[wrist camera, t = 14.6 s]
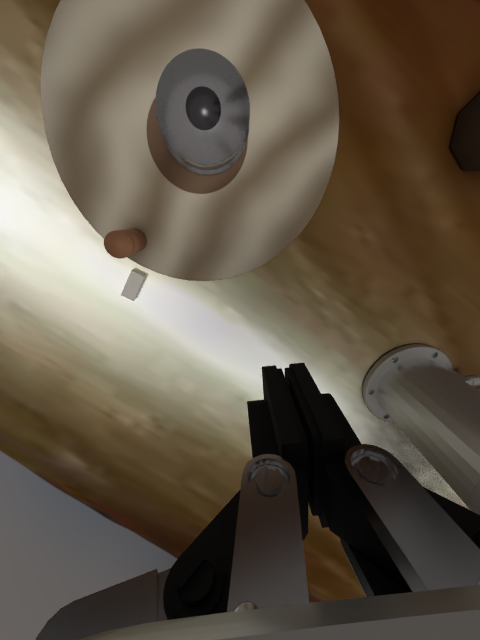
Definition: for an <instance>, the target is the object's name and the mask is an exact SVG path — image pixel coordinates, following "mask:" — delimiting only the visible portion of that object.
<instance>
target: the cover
mask: <svg viewBox="0 0 480 640" xmlns="http://www.w3.org/2000/svg"><path fill="white" fill-rule="evenodd" d="M155 102H156V113H157V118H158V122H159V125H160V128H161V130H162V134H163V137H164V140H165V143H166V145H167V147H168V149H169V150H170V152H171V153H172V155H173V156H174V158H175V159H176V160H177V161H178V162H179V163H180V164H181V165H182V166H183V167H185V168H186V169H188V170H189V171H191V172H194V173H196V174H200V175H207V176H209V175H216V174H220V173H222V172H224V171H226V170H228V169H229V168H231V167H232V166H233V165H234V164H235V163H236V162H237V161H238V159H239V158H240V156H241V154H242V153H243V150H244V148H245V146H246V142H247V139H248V134H249V119H250V102H249V96H248V92H247V88H246V86H245V83H244V81H243V79H242V77H241V75H240V73H239V72H238V70H237V69H236V68H235V66H234V65H233V64H232V63H231V62H230V61H229V60H228V59H227V58H225V57H224V56H222V55H221V54H219V53H217V52H215V51H212V50H208V49H202V48H197V49H190V50H187V51H184V52H182V53H180V54H178V55H177V56H175V57H174V58H173V59H172V60H171V61H170V62H169V63H168V64H167V66H166V67H165V69H164V70H163V72H162V74H161V76H160V79H159V82H158V85H157V90H156V100H155Z"/></svg>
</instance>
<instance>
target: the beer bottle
mask: <svg viewBox="0 0 480 640" xmlns="http://www.w3.org/2000/svg"><path fill="white" fill-rule="evenodd" d="M450 148H451V150H452V152H453V153H454V155H455V157H456V159H457V161H458V162H459V164H460V166H461V168H462V169H463V170H480V93H479V94H478V95H477V96H476V97H475V98H474V99H473V100H472V101H471V102H470V103H469V104H468V105H467V106H466V107H465V108H464V109H463V110H462V111H461V112H460V113H459V114H458V117H457V121H456V125H455V129H454V133H453V137H452V142H451V146H450Z"/></svg>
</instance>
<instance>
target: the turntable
mask: <svg viewBox="0 0 480 640" xmlns="http://www.w3.org/2000/svg"><path fill="white" fill-rule="evenodd" d="M197 48H202V49H208V50H212V51H215V52H217V53H219V54H221V55H222V56H224V57H225V58H227V59H228V60H229V61H230V62H231V63H232V64H233V65H234V66H235V68H236V69H237V70H238V72H239V73H240V75H241V77H242V79H243V81H244V83H245V86H246V88H247V92H248V96H249V102H250V119H249V134H248V139H247V142H246V146H245V148H244V150H243V153H242V154H241V156H240V158H239V159H238V161H237V162H236V163H235V164H234V165H233V166H232V167H231V168H229V169H228V170H226V171H224V172H222V173H220V174H216V175H209V176H207V175H200V174H196V173H194V172H191V171H189V170H188V169H186V168H185V167H183V166H182V165H181V164H180V163H179V162H178V161H177V160H176V159H175V158H174V156H173V155H172V153H171V152H170V150H169V149H168V147H167V145H166V143H165V140H164V137H163V134H162V130H161V128H160V125H159V122H158V118H157V113H156V102H155V100H156V90H157V85H158V82H159V79H160V76H161V74H162V72H163V70H164V69H165V67H166V66H167V64H168V63H169V62H170V61H171V60H172V59H173V58H174V57H175V56H177V55H178V54H180V53H182V52H184V51H187V50H190V49H197ZM41 104H42V114H43V120H44V126H45V132H46V137H47V140H48V144H49V147H50V151H51V154H52V158H53V160H54V163H55V165H56V168H57V170H58V173H59V175H60V178H61V180H62V182H63V184H64V185H65V187H66V189H67V191H68V193H69V195H70V197H71V198H72V200H73V201H74V203H75V204H76V206H77V207H78V209H79V210H80V212H81V213H82V215H83V216H84V217H85V218H86V220H87V221H88V222H89V223H90V224H91V226H92V227H93V228H94V229H95V230H96V231H97V232H98V233H99V234H100V235H101V236H102V237H103V238H104V246H105V249H106V251H107V252H108V253H109V254H110V255H111V256H113V257H115V258H125V257H128V258H129V259H131V260H133V261H134V262H136V263H138V264H139V265H141V266H143V267H146V268H148V269H150V270H152V271H155V272H157V273H160V274H163V275H167V276H170V277H174V278H179V279H185V280H195V281H211V280H222V279H226V278H231V277H236V276H239V275H241V274H244V273H247V272H250V271H252V270H254V269H256V268H258V267H260V266H262V265H264V264H266V263H267V262H269V261H270V260H272V259H273V258H275V257H276V256H278V255H279V254H280V253H281V252H282V251H283V250H285V249H286V248H287V247H288V246H289V245H290V244H291V243H292V242H293V241H294V240H295V239H296V238H297V237H298V235H299V234H300V233H301V232H302V231H303V229H304V228H305V227H306V225H307V224H308V222H309V221H310V219H311V218H312V217H313V215H314V213H315V211H316V209H317V207H318V206H319V204H320V202H321V200H322V198H323V195H324V193H325V190H326V188H327V185H328V183H329V179H330V176H331V172H332V169H333V165H334V161H335V155H336V149H337V144H338V130H339V105H338V93H337V86H336V80H335V74H334V70H333V66H332V62H331V58H330V55H329V51H328V48H327V46H326V43H325V41H324V38H323V35H322V33H321V30H320V28H319V26H318V24H317V22H316V20H315V18H314V16H313V14H312V13H311V11H310V9H309V7H308V5H307V4H306V2H305V1H304V0H61V1H60V3H59V5H58V7H57V9H56V11H55V13H54V16H53V19H52V22H51V25H50V28H49V31H48V34H47V38H46V43H45V49H44V54H43V59H42V71H41Z"/></svg>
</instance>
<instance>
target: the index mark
mask: <svg viewBox="0 0 480 640" xmlns="http://www.w3.org/2000/svg"><path fill="white" fill-rule="evenodd" d="M147 275H148V274H146V273H144V272H142V271H140V270H139V269H137V268H135V269H133V270H132V271H131V273H130V275H129V278H128V280H127V282H126V285H125V287H124V289H123V292H122V294H121V295H122V296H124V297H126V298H128V299H131V300H133V301H134V300H135V299H136V298H137V297H138V295H139V292H140V290H141V288H142V286H143V284H144V282H145V279H146V277H147Z"/></svg>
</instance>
